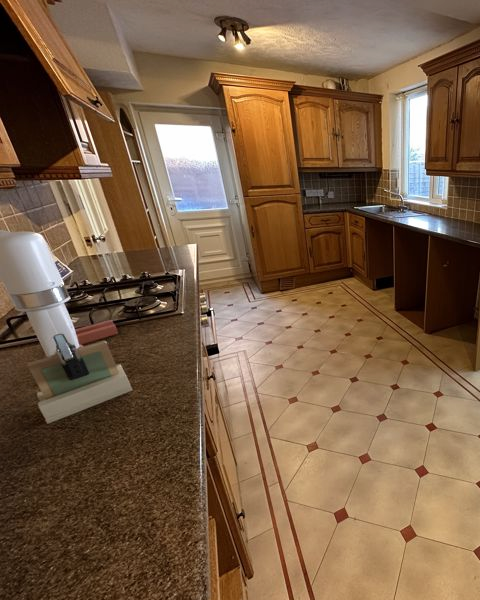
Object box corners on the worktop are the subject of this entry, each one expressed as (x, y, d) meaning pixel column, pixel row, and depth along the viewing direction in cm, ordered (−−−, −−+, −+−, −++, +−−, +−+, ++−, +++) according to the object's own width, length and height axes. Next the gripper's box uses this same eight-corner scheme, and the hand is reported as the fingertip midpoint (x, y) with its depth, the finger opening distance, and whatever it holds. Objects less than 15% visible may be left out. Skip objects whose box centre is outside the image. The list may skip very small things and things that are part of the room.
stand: (53, 347, 93) (47, 335, 91) (115, 330, 102) (110, 318, 101) (55, 357, 88) (49, 345, 86) (120, 338, 97) (115, 326, 96)
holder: (45, 406, 70) (36, 391, 68) (125, 376, 80) (119, 362, 78) (47, 424, 65) (38, 408, 64) (132, 390, 75) (126, 376, 73)
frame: (49, 403, 68) (27, 363, 64) (120, 376, 76) (105, 340, 72) (49, 406, 67) (27, 366, 63) (122, 379, 75) (106, 342, 71)
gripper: (12, 292, 65) (52, 368, 72) (12, 314, 55) (58, 399, 62) (63, 282, 70) (96, 354, 77) (71, 301, 60) (107, 381, 68)
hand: (78, 374), depth 70 cm, fingers closed on frame, 1 cm apart
